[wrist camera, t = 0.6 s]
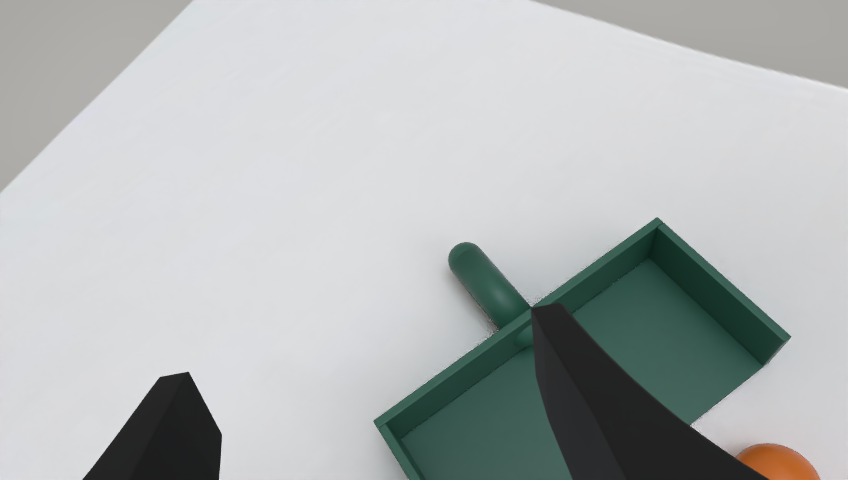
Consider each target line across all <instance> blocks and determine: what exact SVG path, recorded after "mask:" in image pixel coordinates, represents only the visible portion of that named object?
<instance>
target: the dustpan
mask: <svg viewBox="0 0 848 480" xmlns="http://www.w3.org/2000/svg"><path fill="white" fill-rule="evenodd" d="M647 258H648V259H647ZM644 260H645V261H644ZM643 261H644V262H643ZM448 262H449V266H450V269H451V270H452V272H453V273H454V274H455V275H456V277H457V278H458V279H459V280H460V282H461V283H462V284H463V285H464V287H465V288H466V289H467V290H468V291H469V293H470V294H471V295H472V296H473V298H474V299H475V300H476V301H477V302H478V304H479V305H480V306H481V307H482V309H483V310H484V311H485V312H486V313H487V315H488V316H489V317H490V318H491V320H492V321H493V322H494V323H495V325H496V326H497V327H498V328H499V329H500V330H499V331H498V332H497V333H495V334H494V335H492V336H491V337H490V338H488V339H487V340H485V341H484V342H483V343H481V344H480V345H478V346H477V347H476V348H474V349H473V350H471V351H470V352H469V353H467V354H466V355H465V356H463V357H462V358H460V359H459V360H458V361H456V362H455V363H453V364H452V365H451V366H449V367H448V368H446V369H445V370H444V371H442V372H441V373H439V374H438V375H437V376H435V377H434V378H432V379H431V380H430V381H428V382H427V383H426V384H424V385H423V386H421V387H420V388H419V389H417V390H416V391H414V392H413V393H412V394H410V395H409V396H407V397H406V398H405V399H403V400H402V401H400V402H399V403H398V404H396V405H395V406H393V407H392V408H391V409H389V410H388V411H387V412H385V413H384V414H382V415H381V416H380V417H378V418H377V419H375V420H374V423H375V425H376V427H377V428H378V430H379V432H380V433H381V435H382V436H383V438H384V440H385V441H386V443H387V444H388V446H389V448H390V449H391V451H392V453H393V454H394V456H395V457H396V459H397V461H398V462H399V464H400V465H401V467H402V469H403V470H404V472H405V474H406V475H407V477H408V478H409V480H573V479H572V477H571V475H570V472H569V470H568V467H567V465H566V462H565V460H564V458H563V455H562V453H561V450H560V448H559V445H558V443H557V441H556V438H555V436H554V433H553V431H552V428H551V426H550V423H549V421H548V417H547V414H546V411H545V407H544V404H543V400H542V397H541V393H540V390H539V386H538V383H537V379H536V374H535V360H534V347H533V333H532V319H531V308H533V307H538V306H543V305H549V304H554V303H561V304H563V305H564V306H565V307H566V308H567V309H568V310H569V312H570V313H571V314H572V315H573V316H574V318H575V319H576V320H577V321H578V322H579V323H580V325H581V326H582V327H583V328H584V329H585V330H586V331H587V332H588V334H589V335H590V336H591V337H592V338H593V339H594V340H595V341H596V342H597V343H598V344H599V345H600V346H601V347H602V348H603V349H604V350H605V352H606V353H607V354H608V355H609V356H610V357H611V358H612V359H614V360H615V361H616V362H617V363H618V364H619V365H620V366H621V367H622V368H623V369H624V370H625V371H626V372H627V373H628V374H629V375H630V376H631V377H632V378H633V379H634V380H635V381H637V382H638V383H639V384H640V385H641V386H642V387H643V388H644V389H645V390H647V391H648V392H649V393H650V394H651V395H652V396H654V397H655V398H656V399H657V400H658V401H659V402H660V403H662V404H663V405H664V406H665V407H667V408H668V409H669V410H670V411H671V412H673V413H674V414H675V415H676V416H678V417H679V418H680V419H681V420H683V421H684V422H685V423H687V424H688V425H690V424H691V423H693V422H694V421H695V420H697V419H698V418H699V417H700V416H702V415H703V414H704V413H705V412H707V411H708V410H709V409H710V408H712V407H713V406H714V405H716V404H717V403H718V402H719V401H721V400H722V399H723V398H724V397H726V396H727V395H728V394H729V393H731V392H732V391H733V390H734V389H736V388H737V387H738V386H740V385H741V384H742V383H743V382H745V381H746V380H747V379H748V378H750V377H751V376H752V375H753V374H755V373H756V372H757V371H758V370H760V369H761V368H762V367H764V366H765V365H766V364H767V363H769V362H770V360H771V359H772V358H773V357H774V356H775V355H776V354H777V353H778V351H779V350H780V349H781V348H782V347H783V346H784V345H785V344H786V342H787V341H788V340H789V339H790V338H791V336H790V335H789V334H788V333H787V332H786V331H785V330H783V329H782V328H781V327H780V326H779V325H778V324H777V323H776V322H774V321H773V320H772V319H771V318H770V317H769V316H768V315H767V314H765V313H764V312H763V311H762V310H761V309H760V308H759V307H758V306H756V305H755V304H754V303H753V302H752V301H751V300H750V299H749V298H748V297H746V296H745V295H744V294H743V293H742V292H741V291H740V290H739V289H737V288H736V287H735V286H734V285H733V284H732V283H731V282H730V281H728V280H727V279H726V278H725V277H724V276H723V275H722V274H721V273H719V272H718V271H717V270H716V269H715V268H714V267H713V266H712V265H710V264H709V263H708V262H707V261H706V260H705V259H704V258H703V257H702V256H700V255H699V254H698V253H697V252H696V251H695V250H694V249H693V248H691V247H690V246H689V245H688V244H687V243H686V242H685V241H684V240H682V239H681V238H680V237H679V236H678V235H677V234H676V233H675V232H673V231H672V230H671V229H670V228H669V227H668V226H667V225H666V224H665V223H663V222H662V221H661V220H660V219H659V218H658V217H657V218H655V219H654V220H652V221H651V222H650V223H648V224H647V225H646V226H644V227H643V228H641V229H640V230H639V231H637V232H636V233H634V234H633V235H632V236H630V237H629V238H627V239H626V240H625V241H623V242H622V243H620V244H619V245H618V246H616V247H615V248H613V249H612V250H611V251H609V252H608V253H607V254H605V255H604V256H602V257H601V258H600V259H598V260H597V261H595V262H594V263H593V264H591V265H590V266H588V267H587V268H586V269H584V270H583V271H581V272H580V273H579V274H577V275H576V276H575V277H573V278H572V279H570V280H569V281H568V282H566V283H565V284H563V285H562V286H561V287H559V288H558V289H556V290H555V291H554V292H552V293H551V294H549V295H548V296H547V297H545V298H544V299H542V300H541V301H540V302H538V303H537V304H536V305H534V306H533V307H531V306H530V305H529V304H528V303H527V302H526V301H525V300H524V298H523V297H522V296H521V295H520V294H519V293H518V292H517V290H516V289H515V288H514V287H513V286H512V285H511V283H510V282H509V281H508V280H507V279H506V278H505V277H504V275H503V274H502V273H501V272H500V271H499V270H498V269H497V267H496V266H495V265H494V264H493V263H492V262H491V261H490V259H489V258H488V257H487V256H486V255H485V254H484V252H483V251H482V250H481V249H480V248H479V247H478V246H477V245H475V244H473V243H469V242H464V243H460V244H458V245H456V246H455V247H454V248H453V249H452V250H451V252H450V254H449V258H448ZM640 263H641V264H640ZM639 264H640V265H639ZM636 266H637V267H636ZM635 267H636V268H635ZM633 268H634V269H633ZM632 269H633V270H632ZM629 271H630V272H629ZM628 272H629V273H628ZM625 274H626V275H625ZM624 275H625V276H624ZM621 277H622V278H621ZM618 279H619V280H618ZM617 280H618V281H617ZM614 282H615V283H614ZM613 283H614V284H613ZM610 285H611V286H610ZM607 287H608V288H607ZM606 288H607V289H606ZM603 290H604V291H603ZM602 291H603V292H602ZM599 293H600V294H599ZM596 295H597V296H596ZM595 296H596V297H595ZM592 298H593V299H592ZM591 299H592V300H591ZM588 301H589V302H588ZM587 302H588V303H587ZM585 303H586V304H585ZM584 304H585V305H584ZM581 306H582V307H581ZM580 307H581V308H580ZM577 309H578V310H577ZM576 310H577V311H576ZM574 311H575V312H574ZM573 312H574V313H573ZM526 346H527V347H526ZM525 347H526V348H525ZM522 349H523V350H522ZM521 350H522V351H521ZM518 352H519V353H518ZM517 353H518V354H517ZM514 355H515V356H514ZM511 357H512V358H511ZM510 358H511V359H510ZM507 360H508V361H507ZM506 361H507V362H506ZM503 363H504V364H503ZM500 365H501V366H500ZM499 366H500V367H499ZM496 368H497V369H496ZM495 369H496V370H495ZM492 371H493V372H492ZM489 373H490V374H489ZM488 374H489V375H488ZM485 376H486V377H485ZM484 377H485V378H484ZM481 379H482V380H481ZM480 380H481V381H480ZM478 381H479V382H478ZM477 382H478V383H477ZM474 384H475V385H474ZM473 385H474V386H473ZM470 387H471V388H470ZM469 388H470V389H469ZM467 389H468V390H467ZM466 390H467V391H466ZM463 392H464V393H463ZM462 393H463V394H462ZM459 395H460V396H459ZM458 396H459V397H458ZM455 398H456V399H455ZM452 400H453V401H452ZM451 401H452V402H451ZM448 403H449V404H448ZM447 404H448V405H447ZM444 406H445V407H444ZM441 408H442V409H441ZM440 409H441V410H440ZM437 411H438V412H437ZM436 412H437V413H436ZM433 414H434V415H433ZM430 416H431V417H430ZM429 417H430V418H429ZM426 419H427V420H426ZM425 420H426V421H425ZM422 422H423V423H422ZM421 423H422V424H421ZM419 424H420V425H419ZM418 425H419V426H418ZM415 427H416V428H415ZM414 428H415V429H414ZM411 430H412V431H411ZM410 431H411V432H410ZM408 432H409V433H408ZM407 433H408V434H407ZM404 435H405V436H404ZM403 436H404V437H403ZM400 438H401V439H400Z"/></svg>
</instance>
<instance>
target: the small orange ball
mask: <svg viewBox="0 0 848 480" xmlns="http://www.w3.org/2000/svg"><path fill="white" fill-rule="evenodd" d="M736 459H738V460H739V461H741V462H743V463H744V464H746V465H747V466H749V467H751V468H752V469H754V470H755V471H757V472H759V473H760V474H762V475H763V476H765V477H767V478H768V479H770V480H820V478H819V475H818V474H817V472H816V470H815V469H814V467H813V466H812V465H811V464H810V463H809V461H808V460H806V459H805V458H804V457H803V456H802V455H800V454H799V453H797V452H796V451H794V450H792V449H790V448H788V447H785V446H782V445H778V444H770V443H767V444H757V445H754V446H751V447H749V448H747V449H745V450H743V451H742V452H741V453H739V454H738V455H737V457H736Z"/></svg>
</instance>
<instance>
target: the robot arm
mask: <svg viewBox="0 0 848 480" xmlns="http://www.w3.org/2000/svg"><path fill="white" fill-rule="evenodd" d="M531 319H532V333H533V347H534V360H535V374H536V379H537V383H538V386H539V390H540V393H541V397H542V400H543V404H544V407H545V411H546V414H547V417H548V421H549V423H550V426H551V428H552V431H553V433H554V436H555V438H556V441H557V443H558V445H559V448H560V450H561V453H562V455H563V458H564V460H565V462H566V465H567V467H568V470H569V472H570V475H571V477H572V479H573V480H770V479H768V478H767V477H765V476H763V475H762V474H760V473H759V472H757V471H755V470H754V469H752V468H751V467H749V466H747V465H746V464H744V463H743V462H741V461H739V460H738V459H736V458H735V457H733V456H731V455H730V454H728V453H727V452H725V451H724V450H723V449H721V448H720V447H718V446H717V445H715V444H714V443H713V442H711V441H710V440H708V439H707V438H706V437H704V436H703V435H701V434H700V433H699V432H697V431H696V430H695V429H693V428H692V427H691V426H689V425H688V424H687V423H685V422H684V421H683V420H681V419H680V418H679V417H678V416H676V415H675V414H674V413H673V412H671V411H670V410H669V409H668V408H667V407H665V406H664V405H663V404H662V403H660V402H659V401H658V400H657V399H656V398H655V397H654V396H652V395H651V394H650V393H649V392H648V391H647V390H645V389H644V388H643V387H642V386H641V385H640V384H639V383H638V382H637V381H635V380H634V379H633V378H632V377H631V376H630V375H629V374H628V373H627V372H626V371H625V370H624V369H623V368H622V367H621V366H620V365H619V364H618V363H617V362H616V361H615V360H614V359H612V358H611V357H610V356H609V355H608V354H607V353H606V352H605V350H604V349H603V348H602V347H601V346H600V345H599V344H598V343H597V342H596V341H595V340H594V339H593V338H592V337H591V336H590V335H589V334H588V332H587V331H586V330H585V329H584V328H583V327H582V326H581V325H580V323H579V322H578V321H577V320H576V319H575V318H574V316H573V315H572V314H571V313H570V312H569V310H568V309H567V308H566V307H565V306H564V305H563V304H561V303H554V304H549V305H543V306H538V307H533V308H531ZM221 442H222V434H221V432H220V430H219V428H218V426H217V424H216V423H215V421H214V419H213V417H212V415H211V413H210V411H209V409H208V407H207V406H206V404H205V402H204V400H203V398H202V396H201V394H200V392H199V390H198V389H197V387H196V385H195V383H194V381H193V379H192V377H191V375H190V373H189V372H185V373H179V374H174V375H169V376H163V377H160V378H159V379H158V380H157V382H156V383H155V384H154V385H153V387H152V388H151V389H150V391H149V392H148V394H147V395H146V396H145V398H144V399H143V400H142V402H141V403H140V404H139V406H138V407H137V409H136V410H135V411H134V413H133V414H132V415H131V417H130V418H129V420H128V421H127V422H126V424H125V425H124V426H123V428H122V429H121V430H120V432H119V433H118V434H117V436H116V437H115V438H114V440H113V441H112V442H111V444H110V445H109V446H108V448H107V449H106V450H105V452H104V453H103V454H102V456H101V457H100V458H99V460H98V461H97V462H96V464H95V465H94V466H93V467H92V469H91V470H90V471H89V472H88V473H87V475H86V476H85V477H84V478H83V480H219V471H220V459H221Z"/></svg>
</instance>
